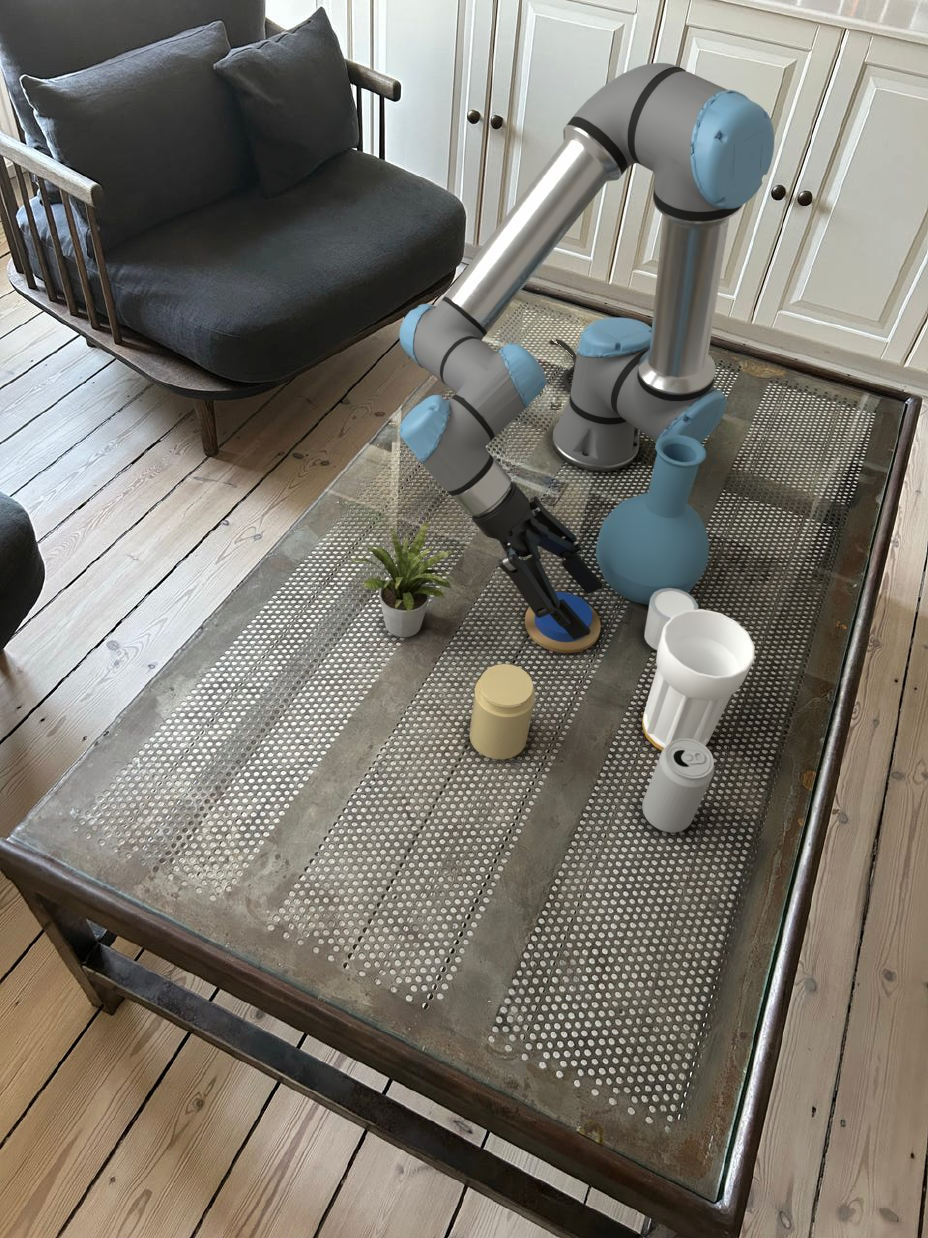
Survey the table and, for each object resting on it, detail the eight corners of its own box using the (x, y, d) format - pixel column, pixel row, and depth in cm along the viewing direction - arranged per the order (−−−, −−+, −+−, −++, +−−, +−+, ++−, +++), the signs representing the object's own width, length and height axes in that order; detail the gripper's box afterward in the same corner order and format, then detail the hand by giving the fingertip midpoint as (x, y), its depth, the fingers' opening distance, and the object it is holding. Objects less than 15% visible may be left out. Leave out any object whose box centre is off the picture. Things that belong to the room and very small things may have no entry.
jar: (460, 721, 130) (466, 669, 122) (512, 706, 132) (521, 654, 124) (483, 766, 125) (490, 715, 117) (536, 750, 128) (547, 699, 120)
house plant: (370, 679, 134) (371, 595, 122) (331, 611, 142) (329, 526, 130) (463, 647, 139) (473, 563, 127) (421, 583, 147) (426, 499, 135)
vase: (708, 566, 154) (754, 435, 136) (679, 635, 143) (725, 503, 125) (609, 531, 158) (641, 400, 140) (574, 596, 147) (603, 462, 129)
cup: (630, 692, 135) (657, 605, 123) (711, 698, 136) (747, 612, 123) (637, 760, 128) (667, 674, 115) (723, 766, 128) (763, 681, 115)
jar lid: (602, 625, 143) (604, 616, 141) (563, 651, 139) (565, 642, 137) (562, 593, 147) (563, 584, 145) (522, 617, 142) (524, 608, 141)
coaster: (512, 607, 145) (513, 604, 144) (578, 591, 148) (579, 587, 148) (545, 661, 138) (545, 657, 137) (613, 642, 142) (614, 638, 141)
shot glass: (690, 628, 145) (702, 595, 139) (682, 661, 140) (694, 628, 135) (645, 615, 146) (655, 581, 141) (635, 647, 141) (645, 613, 136)
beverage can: (636, 792, 124) (656, 735, 115) (685, 790, 125) (709, 734, 116) (646, 836, 120) (668, 781, 111) (697, 835, 121) (723, 779, 112)
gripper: (491, 463, 140) (582, 571, 149) (447, 561, 126) (551, 673, 135) (531, 441, 135) (623, 554, 145) (491, 540, 121) (596, 658, 130)
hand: (588, 611), depth 140 cm, fingers open, 9 cm apart
